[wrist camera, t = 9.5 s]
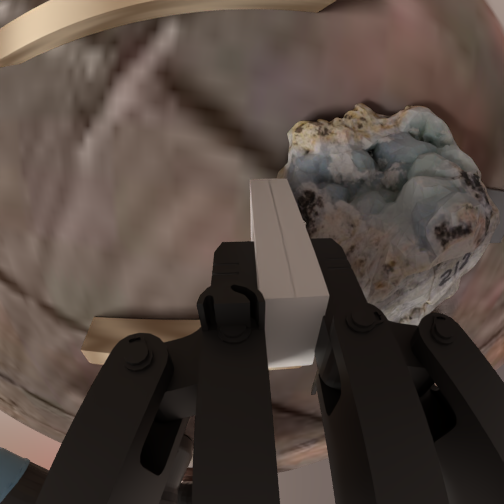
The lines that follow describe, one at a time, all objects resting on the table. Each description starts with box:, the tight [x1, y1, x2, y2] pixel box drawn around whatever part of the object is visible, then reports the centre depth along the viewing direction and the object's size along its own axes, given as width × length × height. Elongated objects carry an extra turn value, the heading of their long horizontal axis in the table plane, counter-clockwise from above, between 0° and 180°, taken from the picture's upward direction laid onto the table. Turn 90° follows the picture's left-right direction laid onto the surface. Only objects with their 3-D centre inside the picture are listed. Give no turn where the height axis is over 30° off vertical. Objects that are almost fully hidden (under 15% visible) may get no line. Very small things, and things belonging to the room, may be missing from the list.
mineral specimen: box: [277, 103, 500, 326], centre depth 11 cm, size 10×8×10 cm
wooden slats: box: [0, 0, 336, 370], centre depth 12 cm, size 14×20×3 cm
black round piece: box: [177, 468, 193, 504], centre depth 44 cm, size 13×13×15 cm
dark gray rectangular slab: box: [486, 188, 504, 243], centre depth 14 cm, size 5×4×1 cm
